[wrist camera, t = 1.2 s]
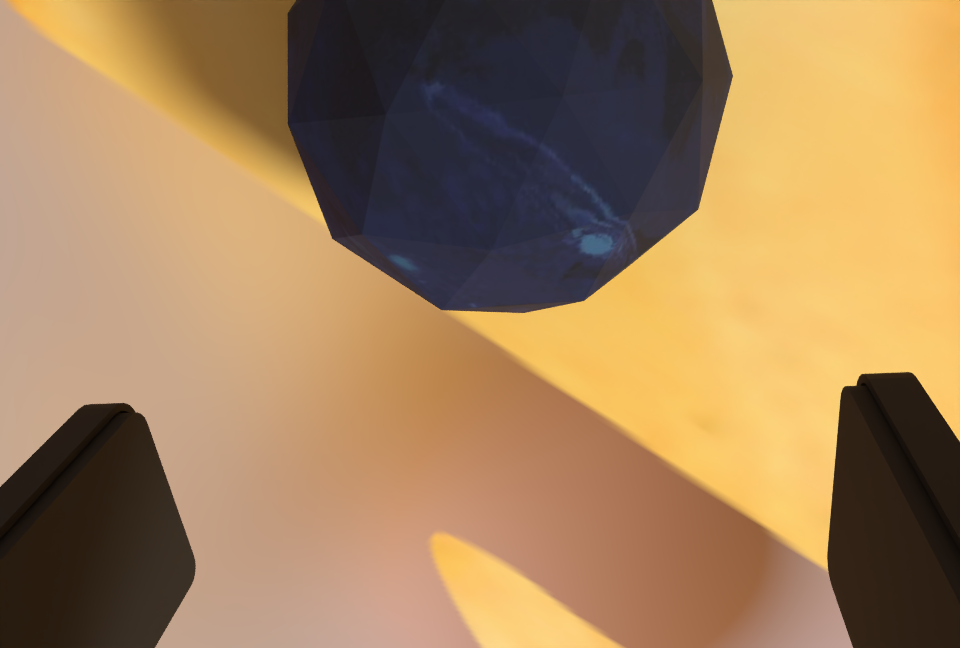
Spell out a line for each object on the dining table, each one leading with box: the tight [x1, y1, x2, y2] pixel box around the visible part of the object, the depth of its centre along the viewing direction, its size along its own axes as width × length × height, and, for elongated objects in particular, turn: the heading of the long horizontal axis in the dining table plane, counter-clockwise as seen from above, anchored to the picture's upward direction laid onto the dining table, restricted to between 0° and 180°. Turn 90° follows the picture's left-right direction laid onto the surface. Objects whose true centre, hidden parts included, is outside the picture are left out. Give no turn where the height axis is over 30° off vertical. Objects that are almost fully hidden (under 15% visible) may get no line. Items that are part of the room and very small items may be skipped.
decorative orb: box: [288, 0, 733, 313], centre depth 28 cm, size 14×15×15 cm
